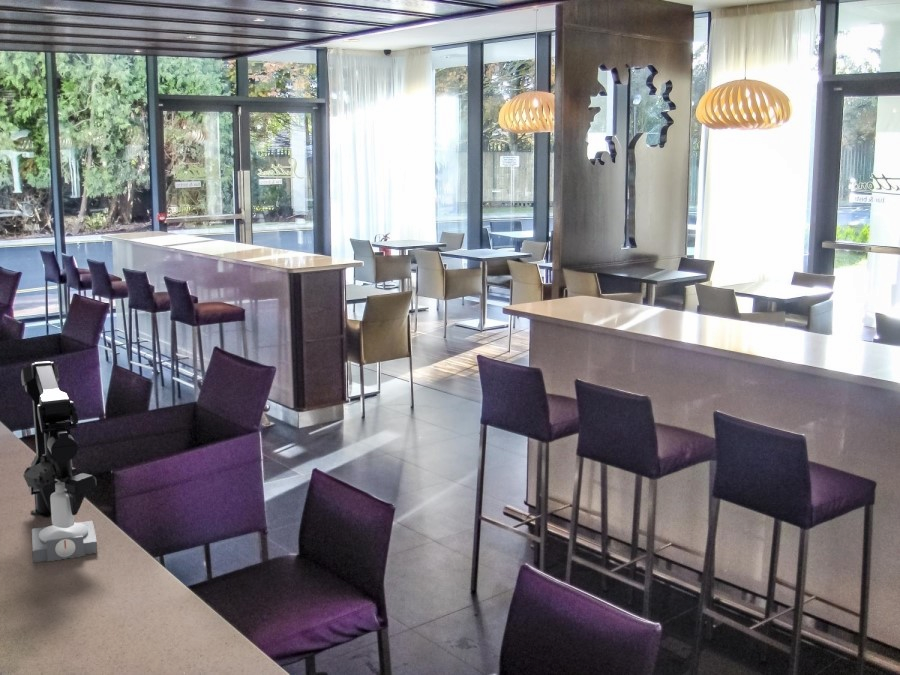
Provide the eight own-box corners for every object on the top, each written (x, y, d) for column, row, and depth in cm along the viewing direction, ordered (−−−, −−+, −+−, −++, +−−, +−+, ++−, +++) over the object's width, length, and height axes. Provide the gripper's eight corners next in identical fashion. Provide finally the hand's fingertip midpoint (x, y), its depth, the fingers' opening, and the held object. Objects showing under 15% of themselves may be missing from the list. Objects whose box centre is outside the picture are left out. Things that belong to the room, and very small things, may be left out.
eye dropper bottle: (69, 519, 229) (66, 472, 227) (75, 526, 225) (72, 479, 222) (50, 523, 227) (47, 476, 224) (56, 530, 222) (53, 482, 220)
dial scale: (32, 540, 230) (31, 521, 229) (93, 531, 236) (92, 513, 235) (33, 564, 217) (32, 544, 216) (97, 554, 222) (96, 535, 221)
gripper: (2, 451, 219) (7, 514, 222) (56, 465, 211) (60, 530, 214) (42, 439, 229) (46, 499, 232) (96, 452, 220) (99, 514, 223)
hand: (62, 511), depth 225 cm, fingers closed on eye dropper bottle, 8 cm apart
